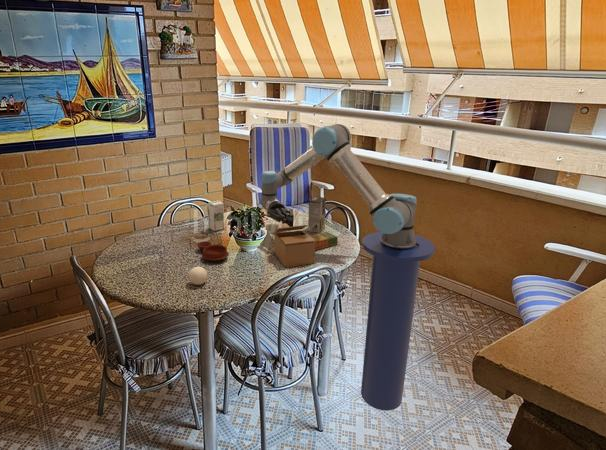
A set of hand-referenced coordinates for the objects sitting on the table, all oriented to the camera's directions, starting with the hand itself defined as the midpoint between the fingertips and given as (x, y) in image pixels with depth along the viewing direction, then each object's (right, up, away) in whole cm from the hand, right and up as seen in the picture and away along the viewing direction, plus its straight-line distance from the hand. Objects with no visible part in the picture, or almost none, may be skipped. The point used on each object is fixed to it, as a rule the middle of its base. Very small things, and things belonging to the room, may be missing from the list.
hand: (291, 224), depth 175 cm
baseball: (-37, -23, -19) cm, 47 cm away
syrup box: (-36, -3, +38) cm, 52 cm away
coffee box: (+16, -3, +35) cm, 38 cm away
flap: (0, -2, +1) cm, 3 cm away
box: (+1, -15, +2) cm, 15 cm away
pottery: (-35, -14, +6) cm, 38 cm away
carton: (+14, -10, +15) cm, 22 cm away
